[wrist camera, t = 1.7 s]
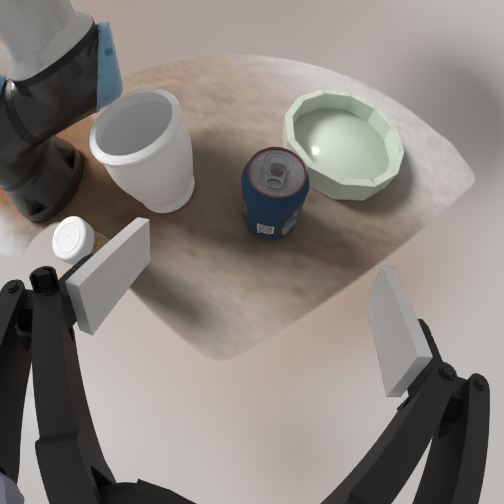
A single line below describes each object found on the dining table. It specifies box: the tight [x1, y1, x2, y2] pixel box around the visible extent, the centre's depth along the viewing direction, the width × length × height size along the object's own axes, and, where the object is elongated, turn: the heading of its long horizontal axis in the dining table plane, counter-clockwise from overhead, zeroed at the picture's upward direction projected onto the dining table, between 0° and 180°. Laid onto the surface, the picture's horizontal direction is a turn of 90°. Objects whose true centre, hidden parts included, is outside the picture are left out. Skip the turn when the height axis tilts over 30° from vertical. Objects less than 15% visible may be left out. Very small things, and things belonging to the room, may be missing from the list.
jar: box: [89, 88, 195, 213], centre depth 32 cm, size 11×10×15 cm
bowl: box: [282, 89, 404, 201], centre depth 39 cm, size 18×18×4 cm
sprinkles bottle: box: [52, 216, 110, 264], centre depth 30 cm, size 5×5×14 cm
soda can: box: [242, 147, 310, 239], centre depth 32 cm, size 7×7×12 cm
